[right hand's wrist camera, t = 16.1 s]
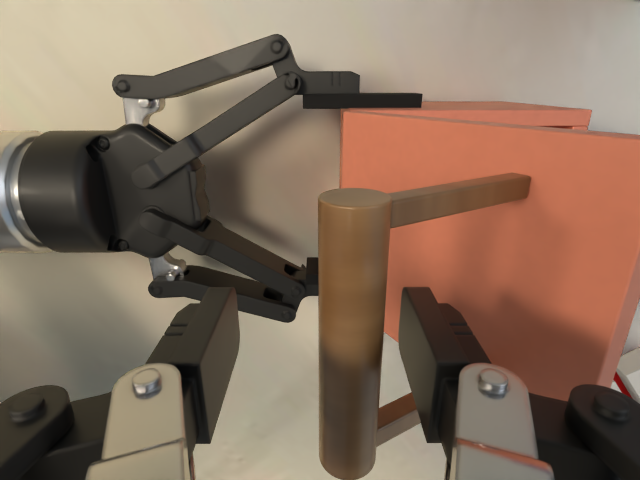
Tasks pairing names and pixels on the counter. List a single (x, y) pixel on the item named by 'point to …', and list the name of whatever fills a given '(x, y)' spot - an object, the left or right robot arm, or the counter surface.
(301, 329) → the counter surface
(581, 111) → the chest
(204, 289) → the left robot arm
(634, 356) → the toy
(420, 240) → the lid
